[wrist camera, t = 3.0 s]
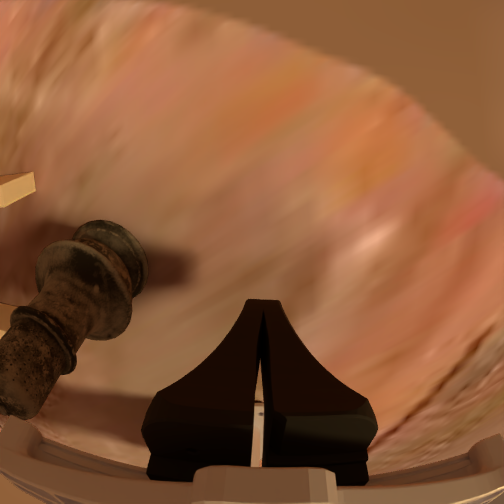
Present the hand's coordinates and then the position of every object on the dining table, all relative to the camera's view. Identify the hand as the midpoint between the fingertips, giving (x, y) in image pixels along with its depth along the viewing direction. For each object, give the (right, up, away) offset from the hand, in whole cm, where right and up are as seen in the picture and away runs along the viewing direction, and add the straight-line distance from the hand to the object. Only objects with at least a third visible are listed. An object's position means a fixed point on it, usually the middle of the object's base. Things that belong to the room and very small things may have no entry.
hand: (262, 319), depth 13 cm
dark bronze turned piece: (-9, +2, +4) cm, 10 cm away
